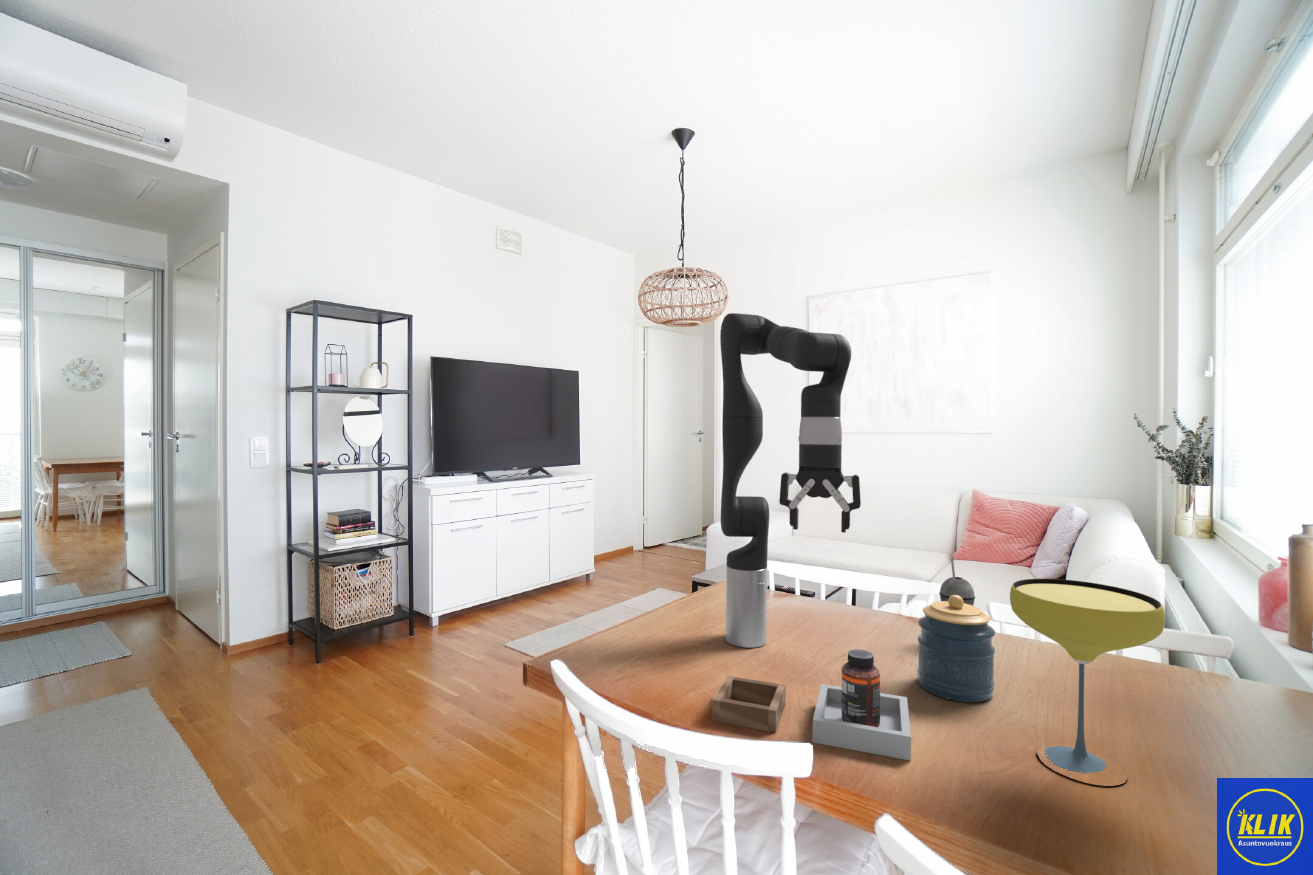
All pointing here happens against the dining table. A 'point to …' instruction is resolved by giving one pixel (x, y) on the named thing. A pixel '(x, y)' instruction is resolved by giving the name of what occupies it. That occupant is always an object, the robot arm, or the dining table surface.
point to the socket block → (749, 712)
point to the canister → (956, 651)
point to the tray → (863, 726)
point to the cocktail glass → (1085, 635)
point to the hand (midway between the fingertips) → (819, 530)
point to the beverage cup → (957, 588)
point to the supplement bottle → (861, 689)
